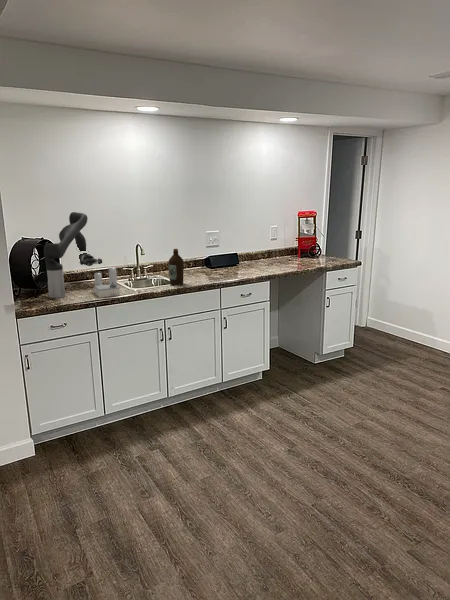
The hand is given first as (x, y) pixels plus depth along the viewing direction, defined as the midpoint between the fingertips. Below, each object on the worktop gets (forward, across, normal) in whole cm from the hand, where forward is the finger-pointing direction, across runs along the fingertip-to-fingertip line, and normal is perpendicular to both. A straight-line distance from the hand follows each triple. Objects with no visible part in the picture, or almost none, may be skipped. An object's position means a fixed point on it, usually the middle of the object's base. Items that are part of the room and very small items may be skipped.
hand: (93, 263), depth 305 cm
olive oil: (+16, +53, +17) cm, 58 cm away
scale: (+22, +2, +17) cm, 28 cm away
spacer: (+11, 0, +17) cm, 20 cm away
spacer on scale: (+25, +6, +12) cm, 28 cm away
